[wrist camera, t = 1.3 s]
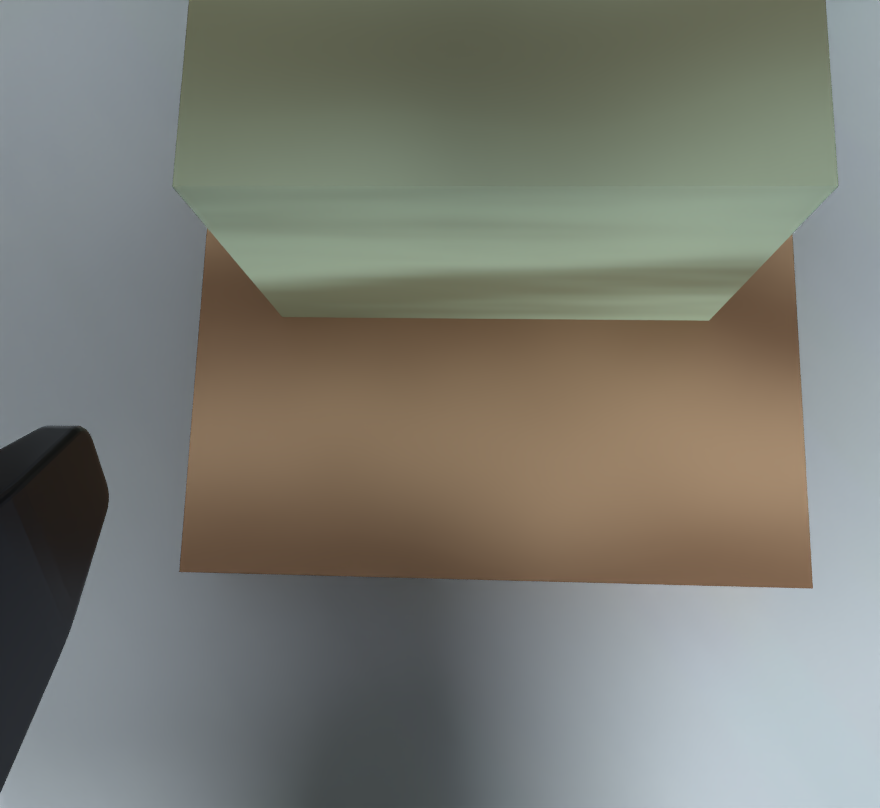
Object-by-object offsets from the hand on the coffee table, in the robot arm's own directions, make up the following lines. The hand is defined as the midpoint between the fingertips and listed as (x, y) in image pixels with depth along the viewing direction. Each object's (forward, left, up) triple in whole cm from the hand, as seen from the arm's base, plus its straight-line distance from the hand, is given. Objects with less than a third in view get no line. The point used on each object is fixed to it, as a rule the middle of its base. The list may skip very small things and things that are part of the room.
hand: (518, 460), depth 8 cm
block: (+7, 0, -10) cm, 12 cm away
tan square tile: (+5, 0, -13) cm, 13 cm away
